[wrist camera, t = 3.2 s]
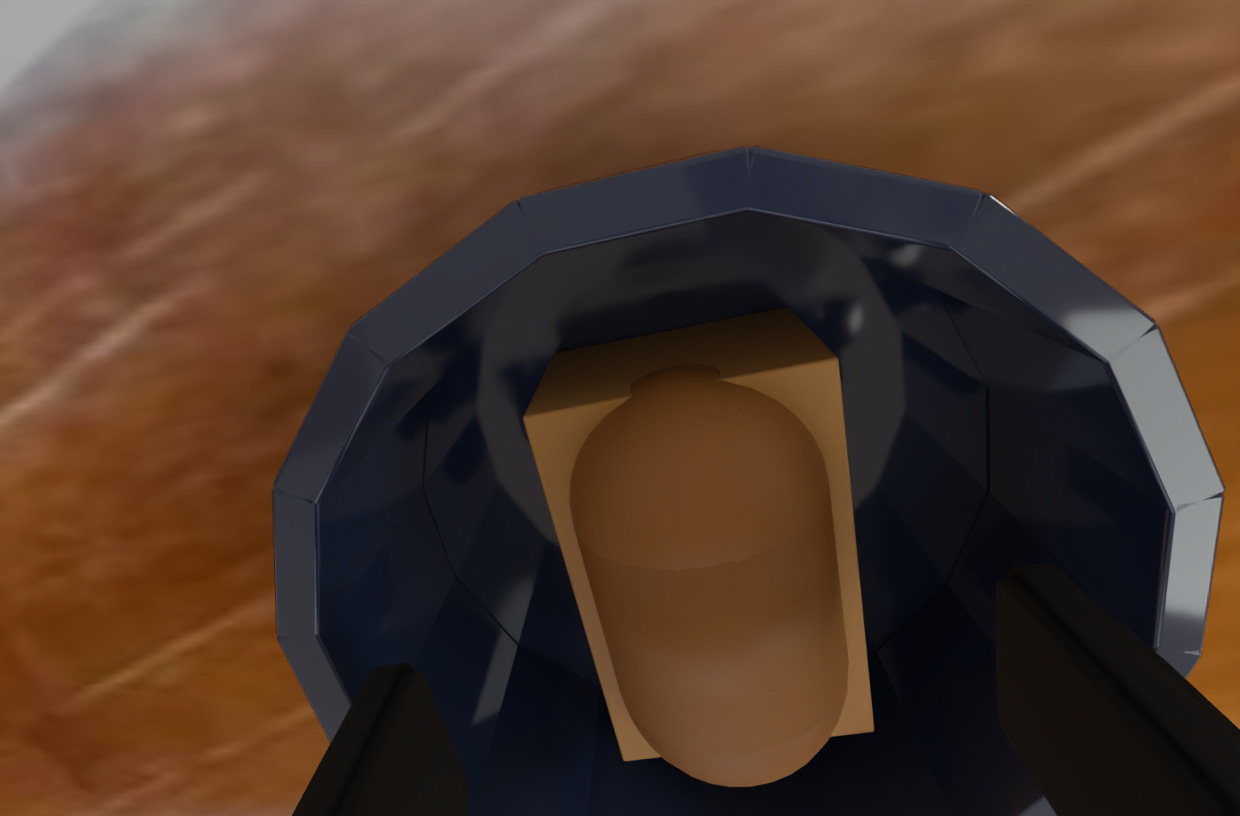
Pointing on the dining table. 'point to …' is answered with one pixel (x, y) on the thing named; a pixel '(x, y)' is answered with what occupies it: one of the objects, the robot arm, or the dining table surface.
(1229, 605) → the dining table surface
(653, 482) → the bread
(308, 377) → the dining table surface
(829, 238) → the pot
